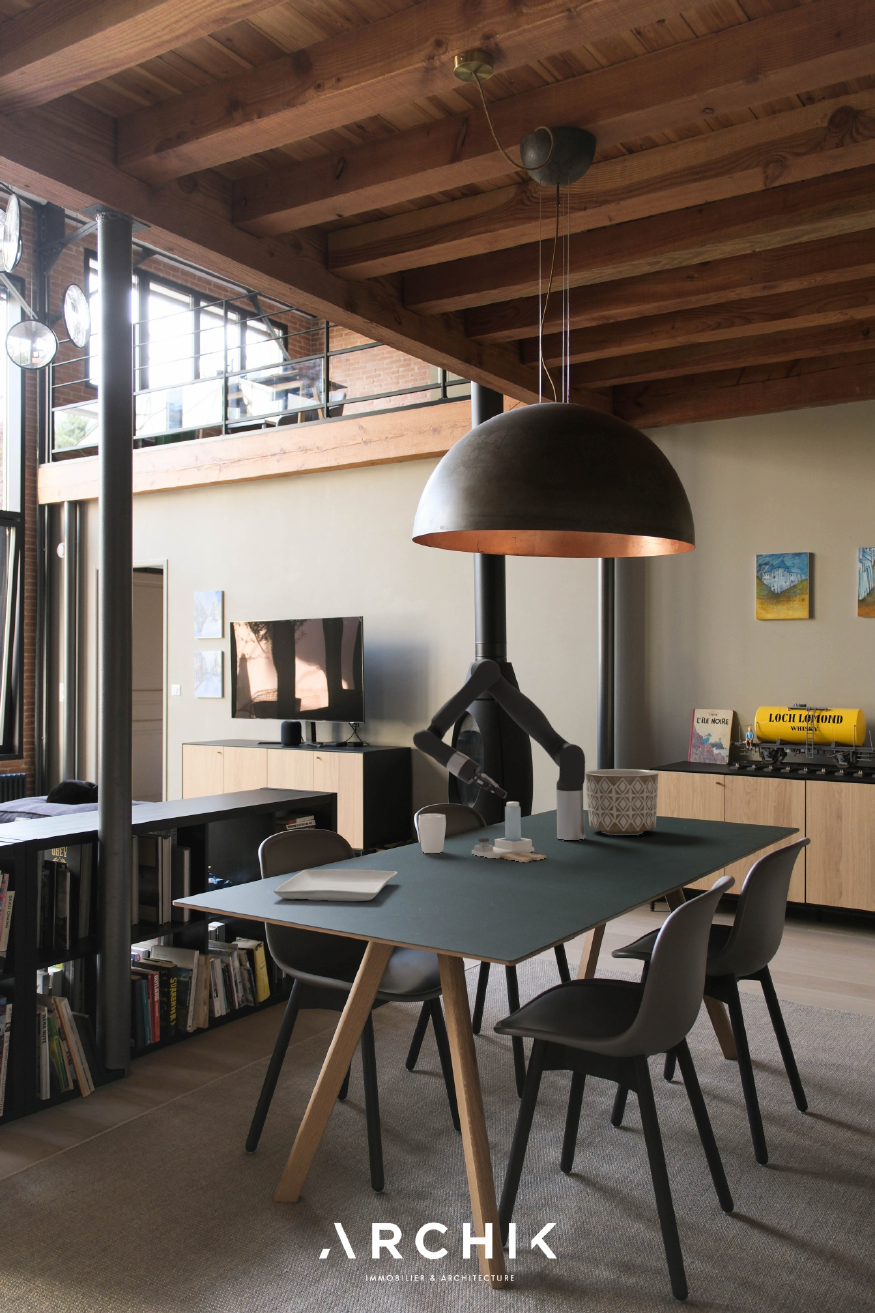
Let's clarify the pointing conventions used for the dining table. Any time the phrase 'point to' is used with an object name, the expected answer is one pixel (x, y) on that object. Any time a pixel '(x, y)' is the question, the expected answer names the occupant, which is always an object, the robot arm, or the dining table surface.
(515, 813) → the bottle
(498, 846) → the housing
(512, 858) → the coaster
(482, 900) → the dining table surface
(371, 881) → the square plate
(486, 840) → the plunger
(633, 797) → the planter
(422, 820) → the cup
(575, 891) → the dining table surface
